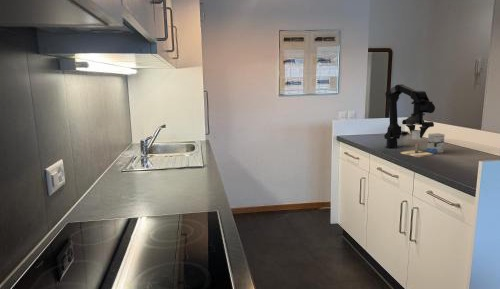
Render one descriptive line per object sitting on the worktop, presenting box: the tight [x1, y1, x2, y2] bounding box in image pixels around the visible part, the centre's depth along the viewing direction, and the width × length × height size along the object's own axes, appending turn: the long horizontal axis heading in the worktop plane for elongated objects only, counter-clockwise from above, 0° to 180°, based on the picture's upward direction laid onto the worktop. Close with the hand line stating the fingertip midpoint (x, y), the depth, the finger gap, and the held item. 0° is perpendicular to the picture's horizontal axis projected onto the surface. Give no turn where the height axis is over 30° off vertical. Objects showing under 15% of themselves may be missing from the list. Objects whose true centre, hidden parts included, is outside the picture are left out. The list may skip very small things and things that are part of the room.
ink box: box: [426, 132, 445, 154], centre depth 228 cm, size 8×5×12 cm, turn 105°
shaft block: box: [400, 143, 434, 158], centre depth 224 cm, size 14×12×6 cm
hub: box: [410, 129, 423, 140], centre depth 222 cm, size 6×6×5 cm
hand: (416, 136), depth 222 cm, fingers closed on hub, 6 cm apart
